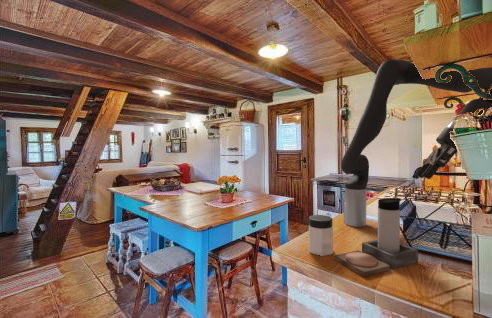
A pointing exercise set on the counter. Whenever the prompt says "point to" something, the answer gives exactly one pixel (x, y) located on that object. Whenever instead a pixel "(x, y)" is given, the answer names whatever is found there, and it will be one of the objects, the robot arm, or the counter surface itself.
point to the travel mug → (389, 224)
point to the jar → (320, 235)
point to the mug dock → (377, 259)
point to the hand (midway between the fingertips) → (421, 177)
